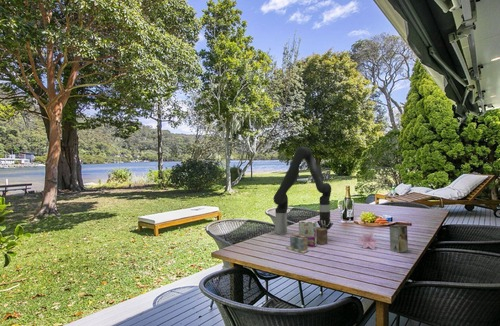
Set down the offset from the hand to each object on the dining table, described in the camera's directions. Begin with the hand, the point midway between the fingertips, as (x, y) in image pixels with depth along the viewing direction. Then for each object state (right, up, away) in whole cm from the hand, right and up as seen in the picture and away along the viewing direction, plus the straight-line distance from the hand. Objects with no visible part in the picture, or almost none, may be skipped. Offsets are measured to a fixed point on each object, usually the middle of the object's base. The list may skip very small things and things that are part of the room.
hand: (325, 234), depth 204 cm
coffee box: (+41, -5, -22) cm, 47 cm away
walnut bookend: (-7, -4, -5) cm, 9 cm away
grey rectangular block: (-15, -5, -11) cm, 19 cm away
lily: (+24, -5, -15) cm, 29 cm away
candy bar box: (-15, -5, -11) cm, 19 cm away
